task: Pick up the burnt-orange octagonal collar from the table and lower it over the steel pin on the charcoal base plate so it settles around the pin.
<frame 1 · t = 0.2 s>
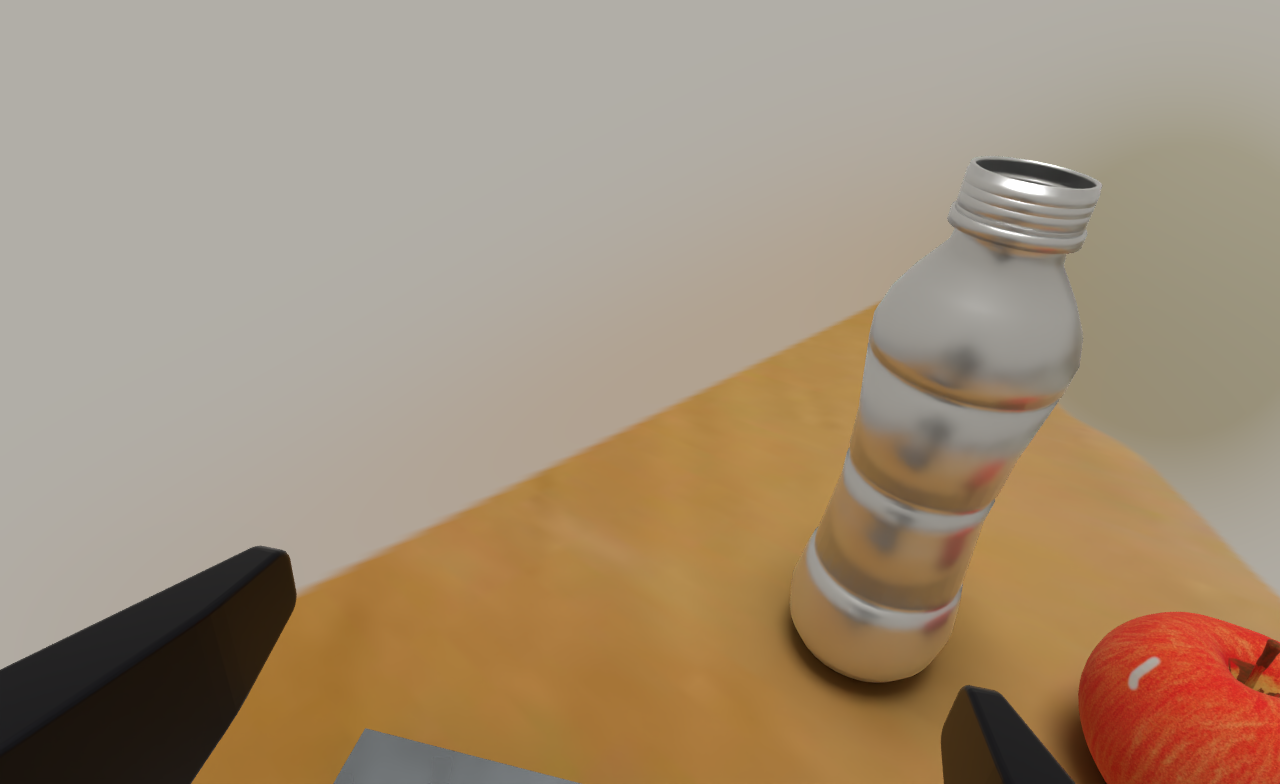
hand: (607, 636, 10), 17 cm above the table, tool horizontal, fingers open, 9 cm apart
plastic bottle: (854, 641, 31), on the table
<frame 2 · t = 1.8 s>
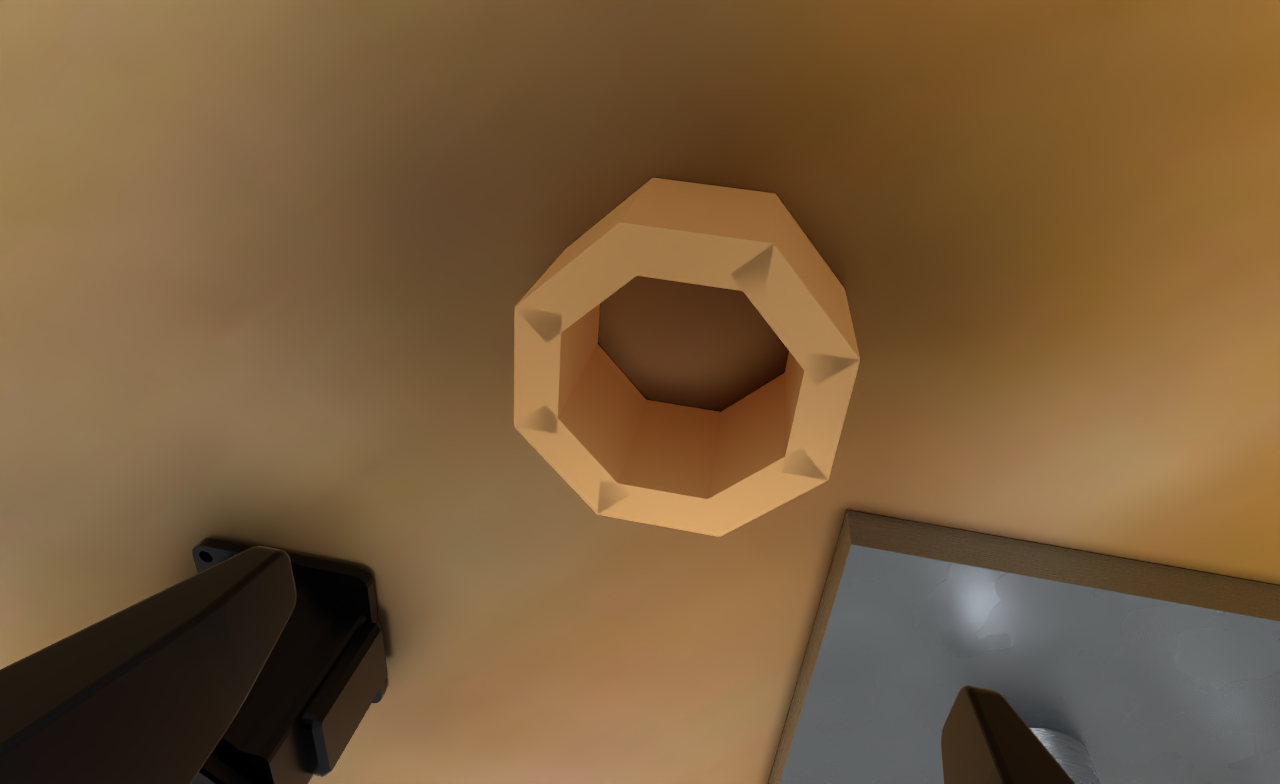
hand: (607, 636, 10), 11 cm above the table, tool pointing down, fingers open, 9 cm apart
collar: (694, 322, 19), on the table
piston stand: (1018, 721, 23), on the table
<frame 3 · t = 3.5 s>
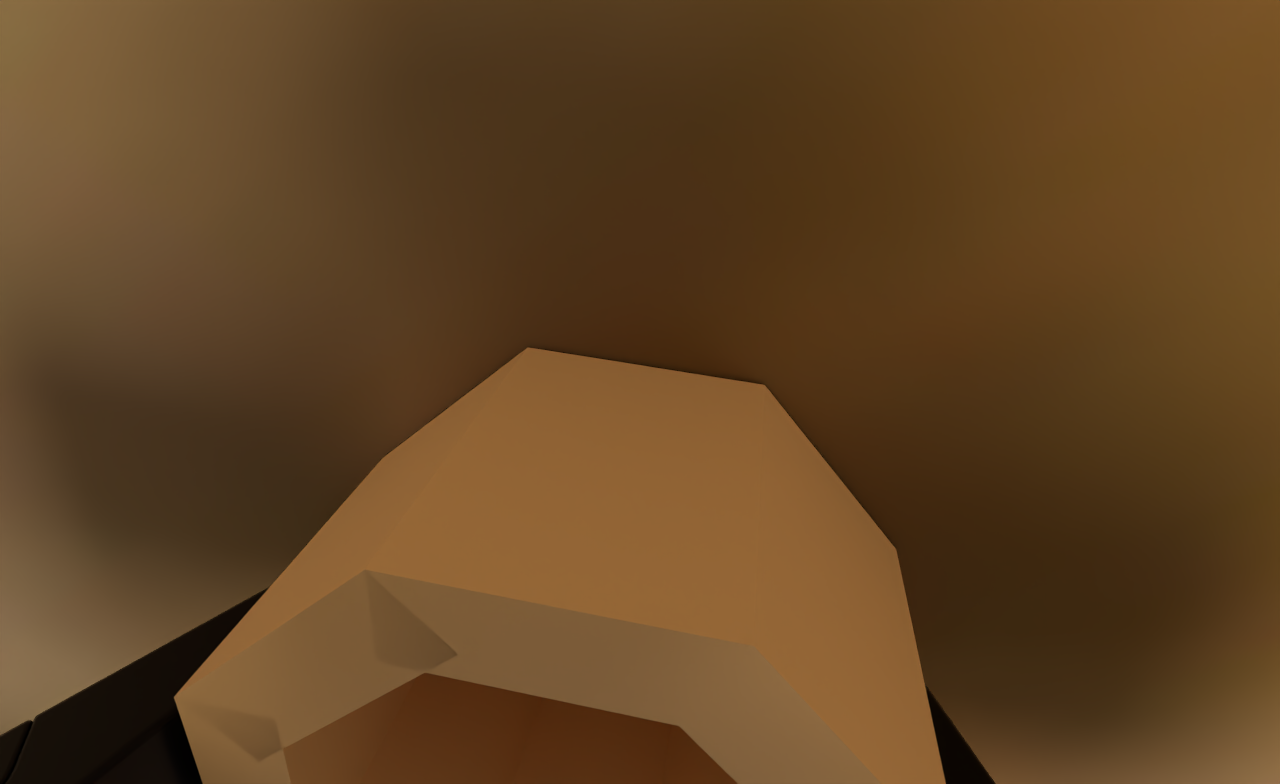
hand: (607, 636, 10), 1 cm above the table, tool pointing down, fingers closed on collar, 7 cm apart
collar: (621, 582, 10), on the table, touching gripper
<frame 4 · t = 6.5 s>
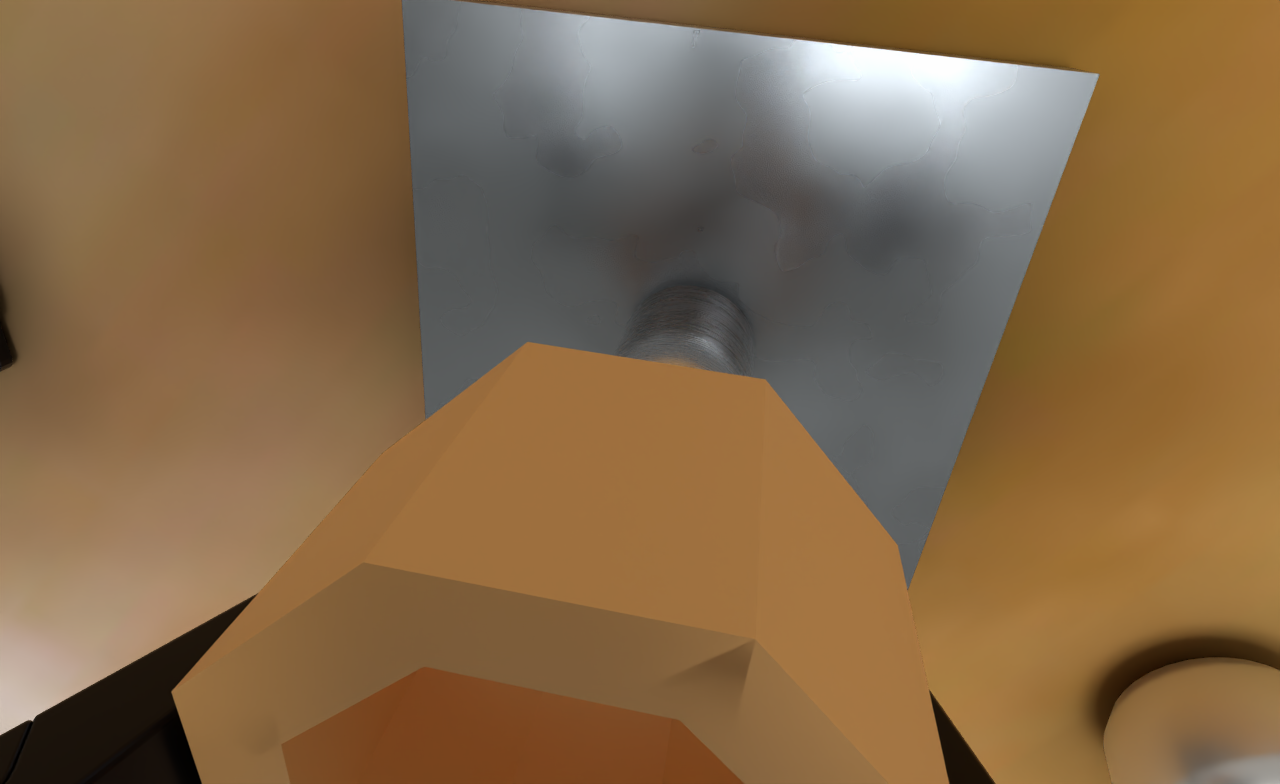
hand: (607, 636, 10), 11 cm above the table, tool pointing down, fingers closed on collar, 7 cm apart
collar: (621, 578, 10), point 10 cm above the table, touching gripper
plastic bottle: (1194, 700, 23), on the table
piston stand: (694, 323, 19), on the table
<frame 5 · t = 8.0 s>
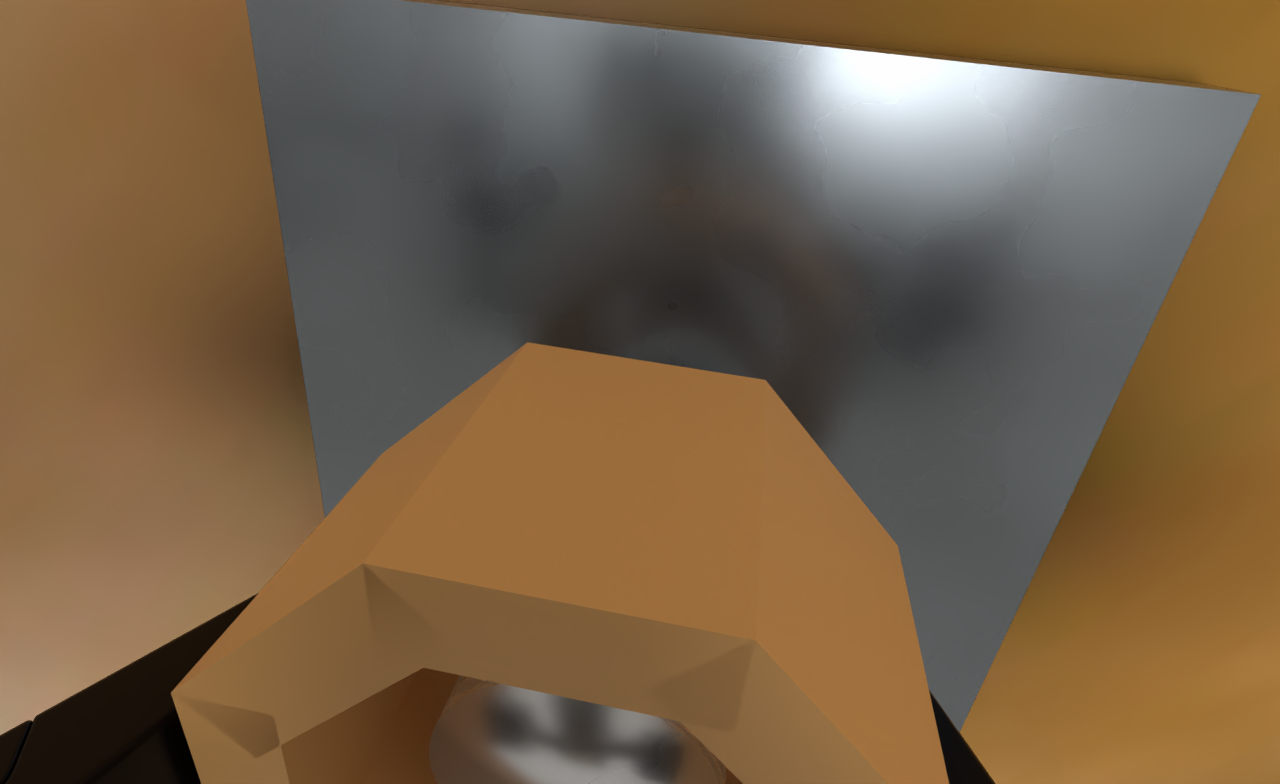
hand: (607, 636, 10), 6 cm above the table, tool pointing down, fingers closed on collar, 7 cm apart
collar: (621, 578, 10), point 5 cm above the table, touching gripper
piston stand: (671, 416, 15), on the table
when the fingers open (4 cm above the table, at t = 9.4 s): collar drops 1 cm, resting on piston stand.
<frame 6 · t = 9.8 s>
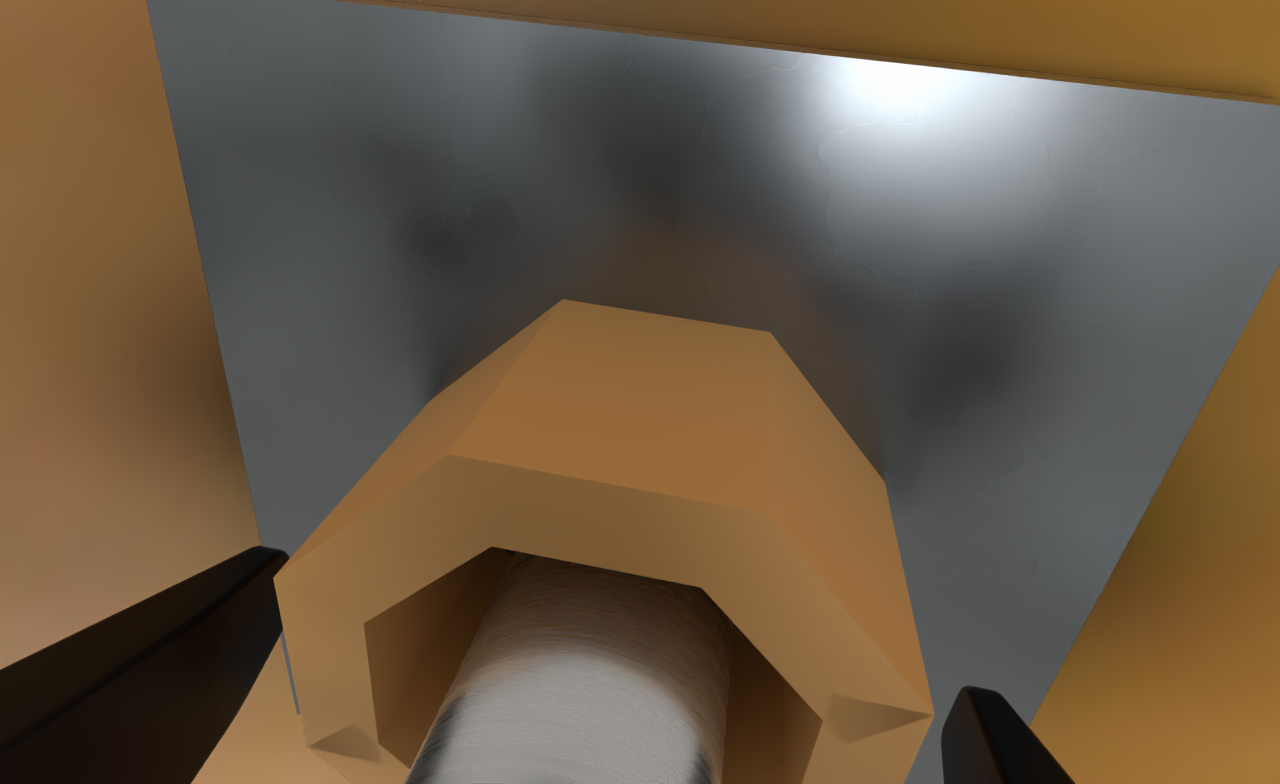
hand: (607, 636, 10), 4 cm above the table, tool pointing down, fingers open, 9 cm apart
collar: (640, 515, 12), point 1 cm above the table, touching piston stand
piston stand: (655, 468, 13), on the table
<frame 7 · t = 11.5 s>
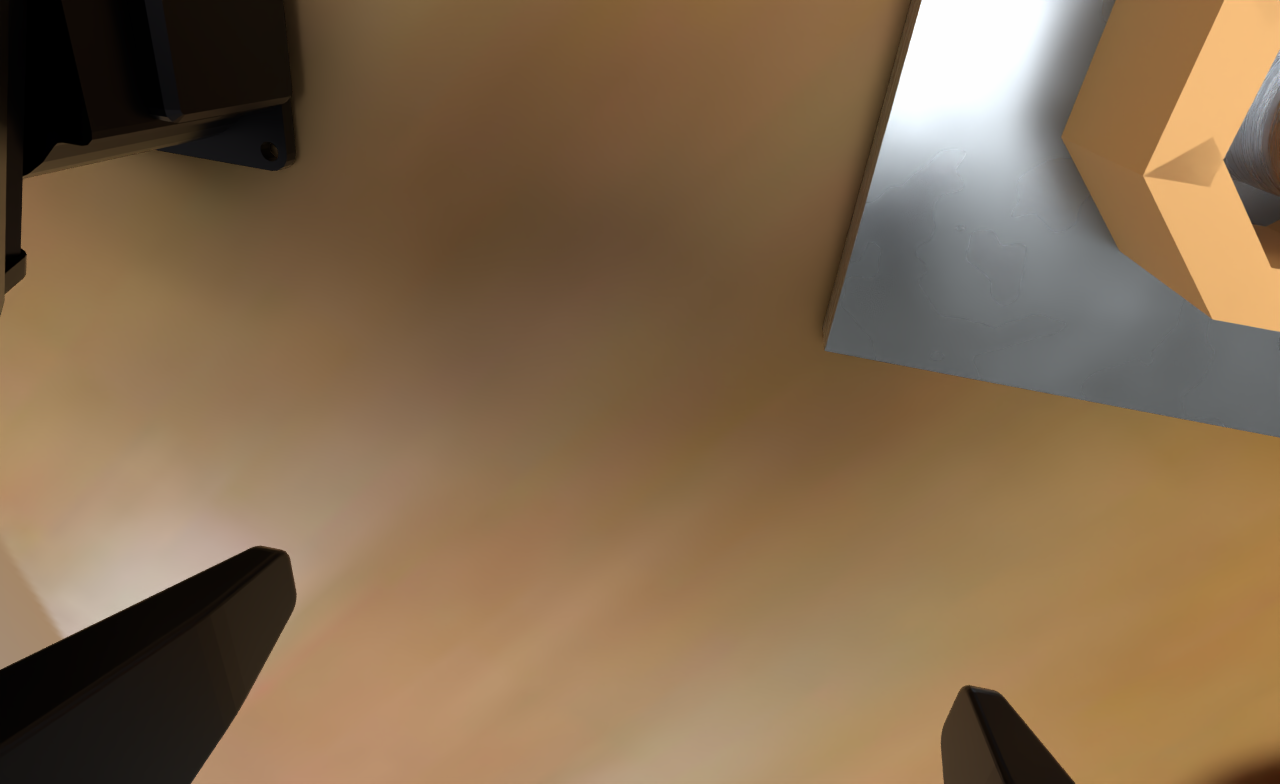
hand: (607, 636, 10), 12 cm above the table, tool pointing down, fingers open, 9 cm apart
piston stand: (1237, 87, 15), on the table
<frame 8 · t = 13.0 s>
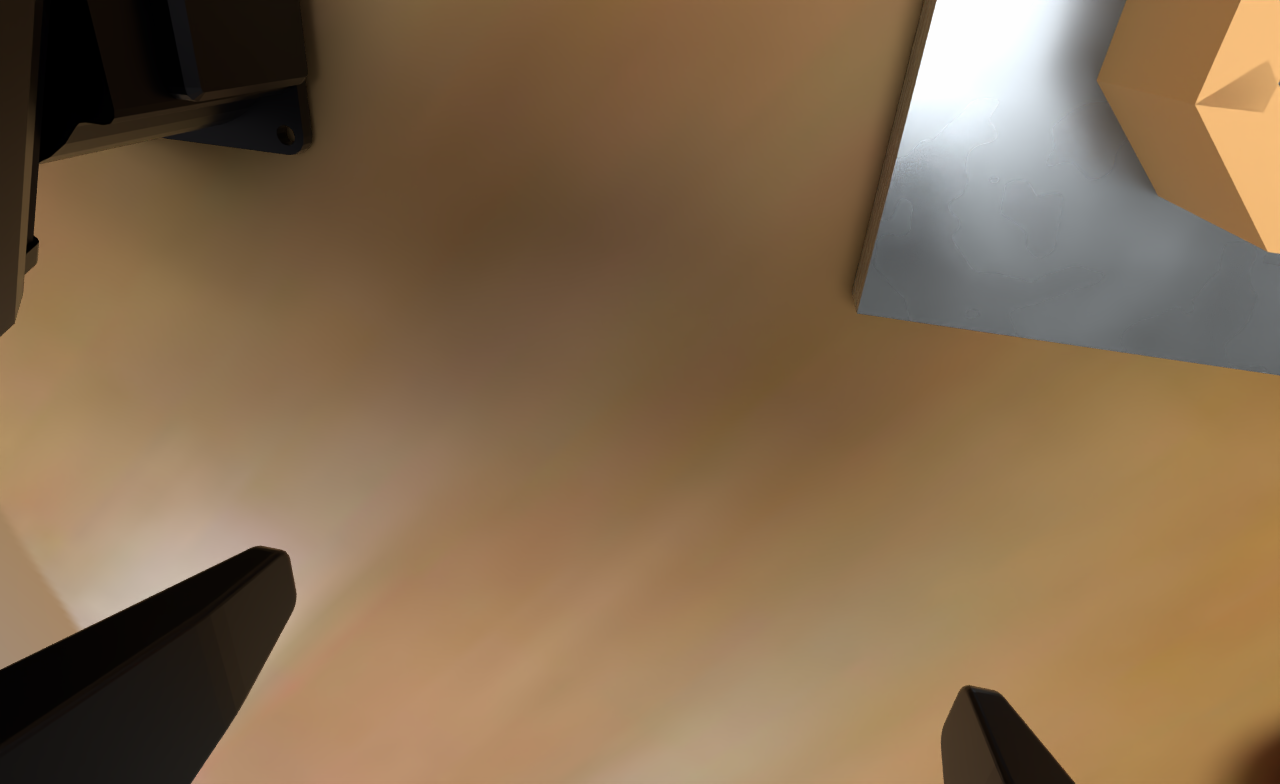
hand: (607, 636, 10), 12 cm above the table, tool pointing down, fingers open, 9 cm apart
piston stand: (1274, 23, 15), on the table
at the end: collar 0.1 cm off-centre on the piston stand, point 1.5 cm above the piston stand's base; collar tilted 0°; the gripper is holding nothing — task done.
